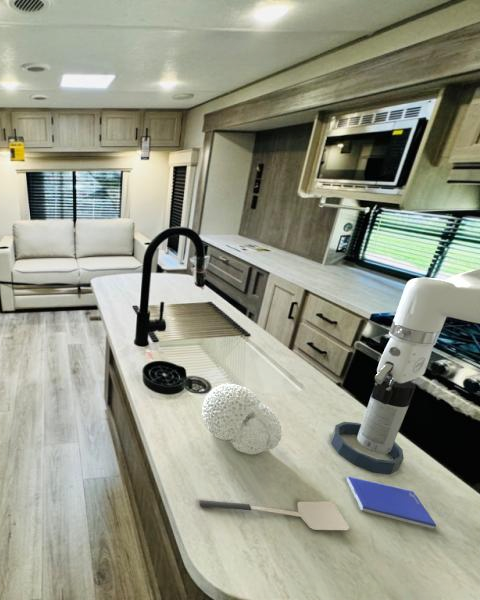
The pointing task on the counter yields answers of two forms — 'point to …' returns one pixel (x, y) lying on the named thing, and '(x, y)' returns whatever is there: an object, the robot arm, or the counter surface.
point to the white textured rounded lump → (241, 419)
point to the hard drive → (390, 502)
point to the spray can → (385, 419)
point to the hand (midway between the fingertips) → (388, 396)
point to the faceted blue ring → (362, 459)
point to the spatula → (297, 513)
